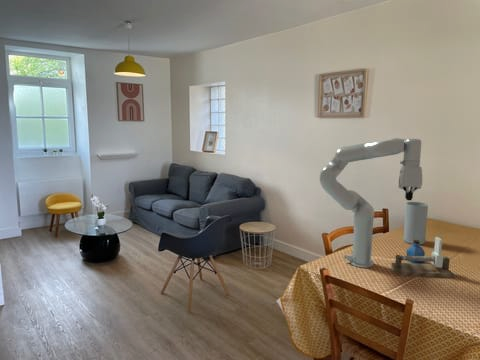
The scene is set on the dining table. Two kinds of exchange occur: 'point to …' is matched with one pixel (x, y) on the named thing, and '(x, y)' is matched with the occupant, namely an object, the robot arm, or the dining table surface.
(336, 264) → the dining table surface
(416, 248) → the perfume bottle
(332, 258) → the dining table surface
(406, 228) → the cylinder vase
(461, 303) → the dining table surface
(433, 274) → the pipe stand
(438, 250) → the white l-shaped bracket
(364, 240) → the robot arm
